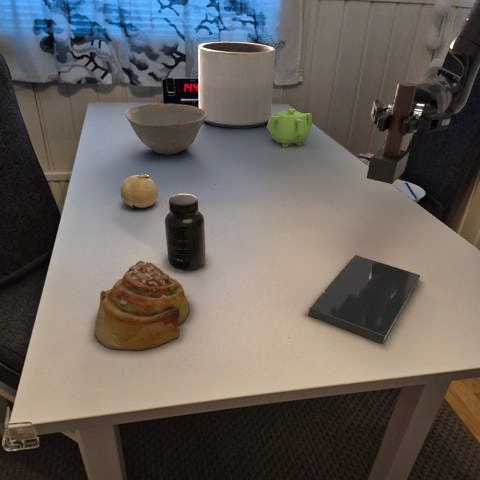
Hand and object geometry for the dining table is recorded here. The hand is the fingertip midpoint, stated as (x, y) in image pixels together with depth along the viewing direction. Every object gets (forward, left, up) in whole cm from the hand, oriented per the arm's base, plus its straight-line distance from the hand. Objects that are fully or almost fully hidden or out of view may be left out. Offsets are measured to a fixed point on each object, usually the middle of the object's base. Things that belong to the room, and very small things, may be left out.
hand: (392, 126), depth 69 cm
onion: (+19, -46, -24) cm, 55 cm away
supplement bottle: (+26, -20, -24) cm, 41 cm away
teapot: (-42, -57, -24) cm, 75 cm away
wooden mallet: (-3, -1, -8) cm, 9 cm away
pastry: (+41, -11, -24) cm, 48 cm away
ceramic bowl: (-8, -73, -24) cm, 78 cm away
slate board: (+10, +8, -24) cm, 27 cm away
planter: (-46, -86, -24) cm, 101 cm away
